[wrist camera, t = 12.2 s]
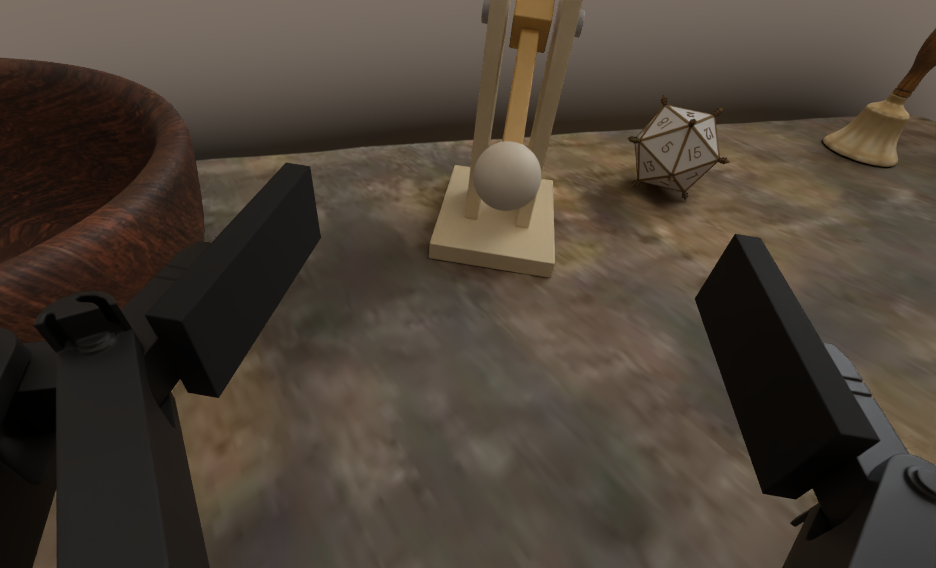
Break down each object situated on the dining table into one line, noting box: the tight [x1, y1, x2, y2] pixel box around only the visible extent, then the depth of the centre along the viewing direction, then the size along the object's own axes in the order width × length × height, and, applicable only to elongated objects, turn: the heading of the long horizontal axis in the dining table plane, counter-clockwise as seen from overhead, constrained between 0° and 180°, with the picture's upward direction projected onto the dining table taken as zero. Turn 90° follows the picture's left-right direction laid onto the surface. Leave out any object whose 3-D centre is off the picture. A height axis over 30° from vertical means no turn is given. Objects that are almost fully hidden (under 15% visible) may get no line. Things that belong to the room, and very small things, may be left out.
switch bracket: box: [429, 0, 585, 278], centre depth 32 cm, size 12×9×17 cm
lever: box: [473, 0, 555, 211], centre depth 25 cm, size 14×4×4 cm
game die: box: [628, 95, 729, 200], centre depth 42 cm, size 9×8×10 cm
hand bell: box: [823, 29, 936, 167], centre depth 52 cm, size 8×8×16 cm
